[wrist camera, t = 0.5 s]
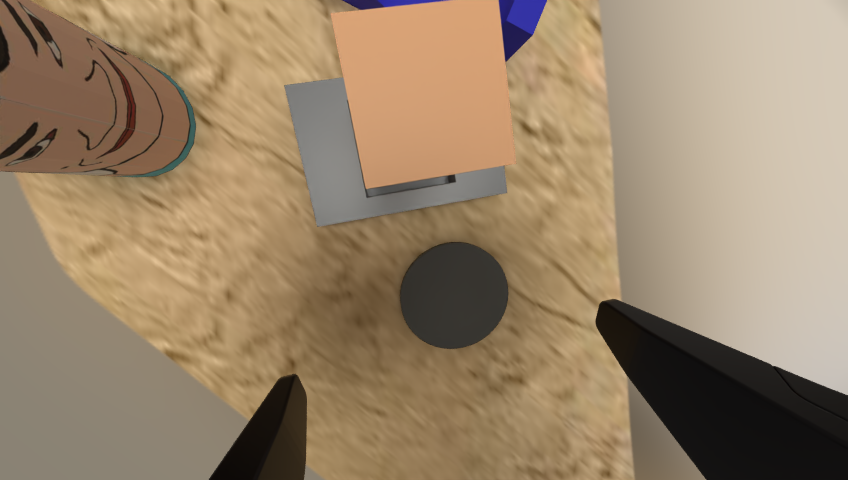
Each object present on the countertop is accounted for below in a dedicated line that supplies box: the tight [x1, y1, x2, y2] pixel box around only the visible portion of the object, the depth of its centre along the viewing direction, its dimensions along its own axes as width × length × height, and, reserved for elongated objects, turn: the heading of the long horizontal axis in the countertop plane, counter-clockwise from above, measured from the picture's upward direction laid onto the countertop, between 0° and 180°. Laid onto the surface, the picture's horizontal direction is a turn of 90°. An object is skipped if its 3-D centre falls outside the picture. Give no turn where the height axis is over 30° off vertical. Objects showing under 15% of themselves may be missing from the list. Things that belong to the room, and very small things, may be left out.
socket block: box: [284, 78, 507, 227], centre depth 20 cm, size 8×12×2 cm, turn 100°
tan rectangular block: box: [331, 0, 516, 189], centre depth 15 cm, size 5×5×12 cm
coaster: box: [400, 242, 508, 349], centre depth 23 cm, size 8×8×1 cm
